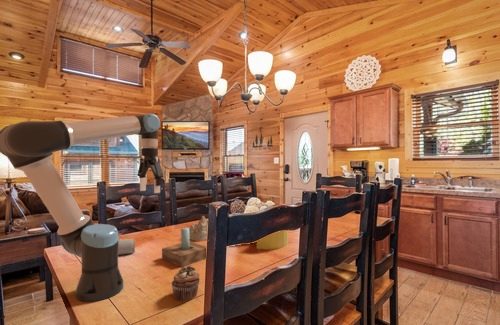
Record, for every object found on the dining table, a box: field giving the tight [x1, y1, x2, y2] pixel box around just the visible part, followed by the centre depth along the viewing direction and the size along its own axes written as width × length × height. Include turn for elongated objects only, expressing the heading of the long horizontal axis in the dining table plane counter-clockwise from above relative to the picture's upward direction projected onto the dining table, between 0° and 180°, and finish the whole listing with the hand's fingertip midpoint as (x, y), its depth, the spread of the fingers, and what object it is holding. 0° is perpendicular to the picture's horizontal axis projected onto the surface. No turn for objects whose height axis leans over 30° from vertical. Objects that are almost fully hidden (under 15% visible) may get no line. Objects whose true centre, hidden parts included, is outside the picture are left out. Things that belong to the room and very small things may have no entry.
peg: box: [180, 227, 191, 251], centre depth 130 cm, size 4×4×14 cm
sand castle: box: [188, 215, 209, 242], centre depth 166 cm, size 16×16×15 cm
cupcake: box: [170, 264, 200, 302], centre depth 94 cm, size 10×10×10 cm
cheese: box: [253, 230, 289, 250], centre depth 156 cm, size 26×26×15 cm
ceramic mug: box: [118, 238, 136, 256], centre depth 138 cm, size 11×8×8 cm
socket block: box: [161, 240, 207, 268], centre depth 130 cm, size 16×16×5 cm
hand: (149, 191), depth 129 cm, fingers open, 13 cm apart
